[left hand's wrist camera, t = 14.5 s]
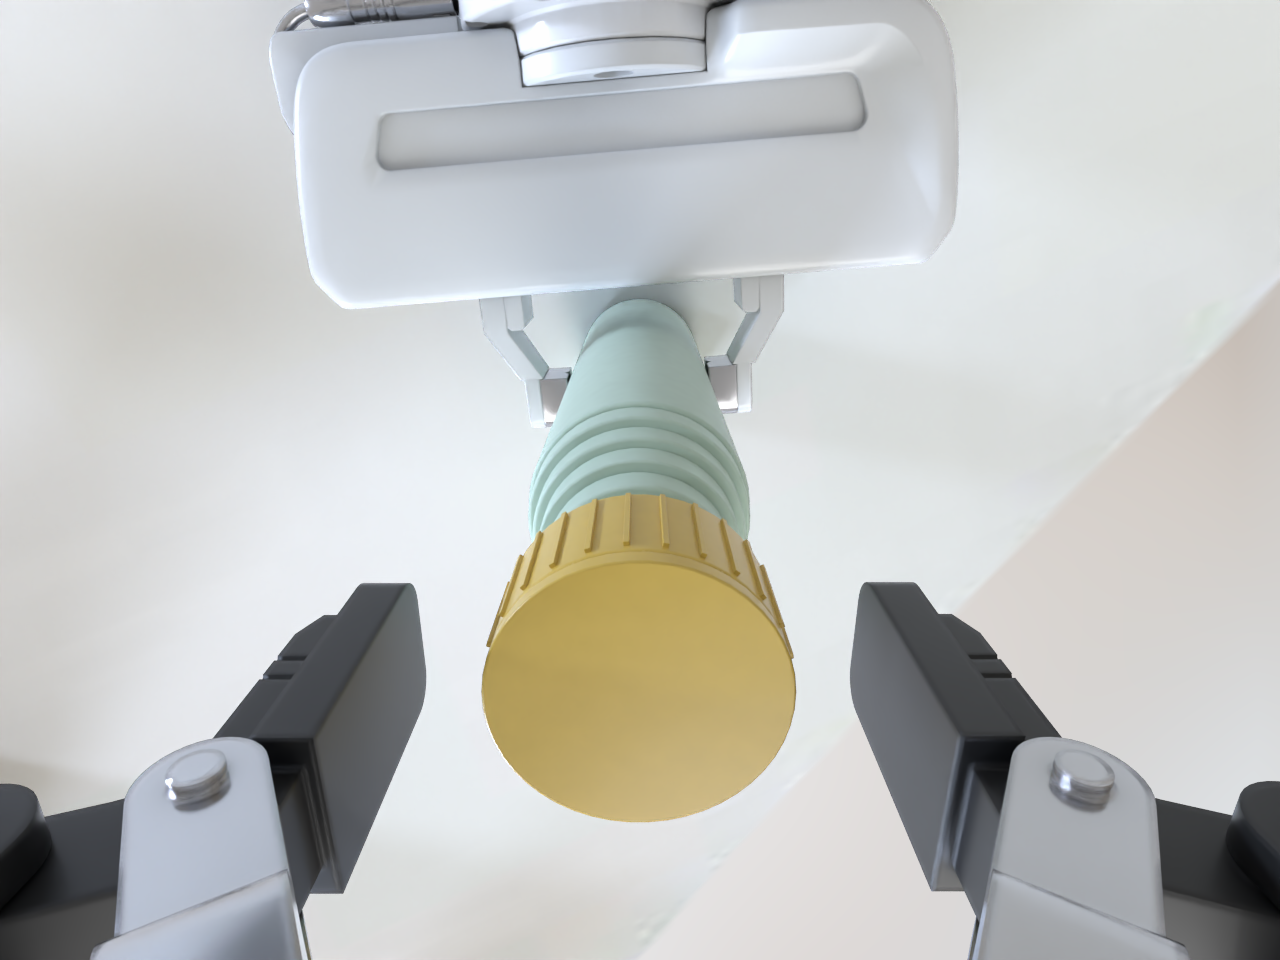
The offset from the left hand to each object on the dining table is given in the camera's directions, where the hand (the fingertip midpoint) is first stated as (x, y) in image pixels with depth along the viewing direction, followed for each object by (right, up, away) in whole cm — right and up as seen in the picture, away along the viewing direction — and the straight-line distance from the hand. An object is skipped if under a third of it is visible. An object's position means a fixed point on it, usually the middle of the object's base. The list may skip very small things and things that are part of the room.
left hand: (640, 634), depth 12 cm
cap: (0, 0, -1) cm, 1 cm away
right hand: (0, +5, +15) cm, 16 cm away
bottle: (0, +8, +21) cm, 22 cm away
